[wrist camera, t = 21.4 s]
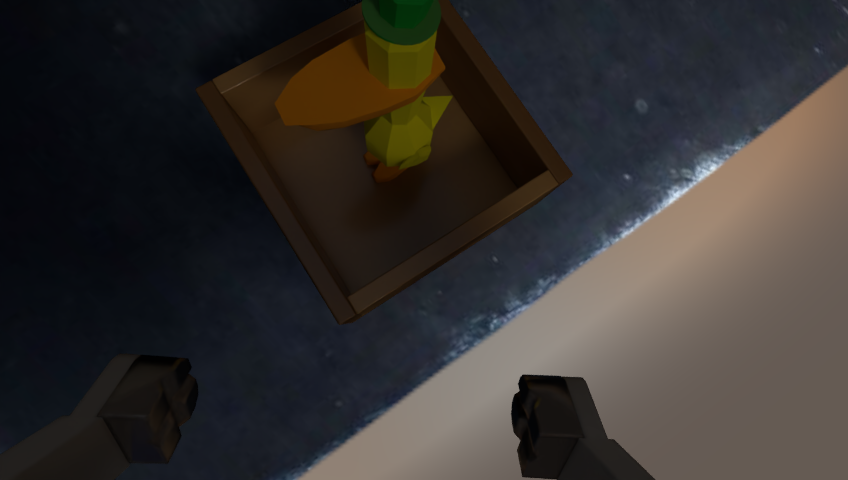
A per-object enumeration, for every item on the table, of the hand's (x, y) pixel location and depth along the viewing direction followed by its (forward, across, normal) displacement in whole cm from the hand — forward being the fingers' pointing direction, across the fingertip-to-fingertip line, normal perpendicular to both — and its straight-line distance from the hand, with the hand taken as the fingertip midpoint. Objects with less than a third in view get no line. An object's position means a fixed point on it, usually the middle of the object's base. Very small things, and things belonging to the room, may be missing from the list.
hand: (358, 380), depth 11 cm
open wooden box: (+14, 0, +1) cm, 14 cm away
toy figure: (+14, 0, 0) cm, 14 cm away
